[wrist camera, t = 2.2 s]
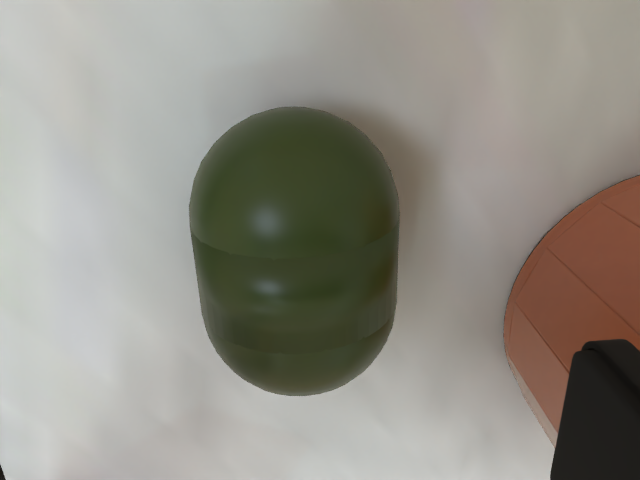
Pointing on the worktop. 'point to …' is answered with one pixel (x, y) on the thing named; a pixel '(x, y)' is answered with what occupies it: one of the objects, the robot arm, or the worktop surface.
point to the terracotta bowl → (575, 296)
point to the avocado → (296, 250)
